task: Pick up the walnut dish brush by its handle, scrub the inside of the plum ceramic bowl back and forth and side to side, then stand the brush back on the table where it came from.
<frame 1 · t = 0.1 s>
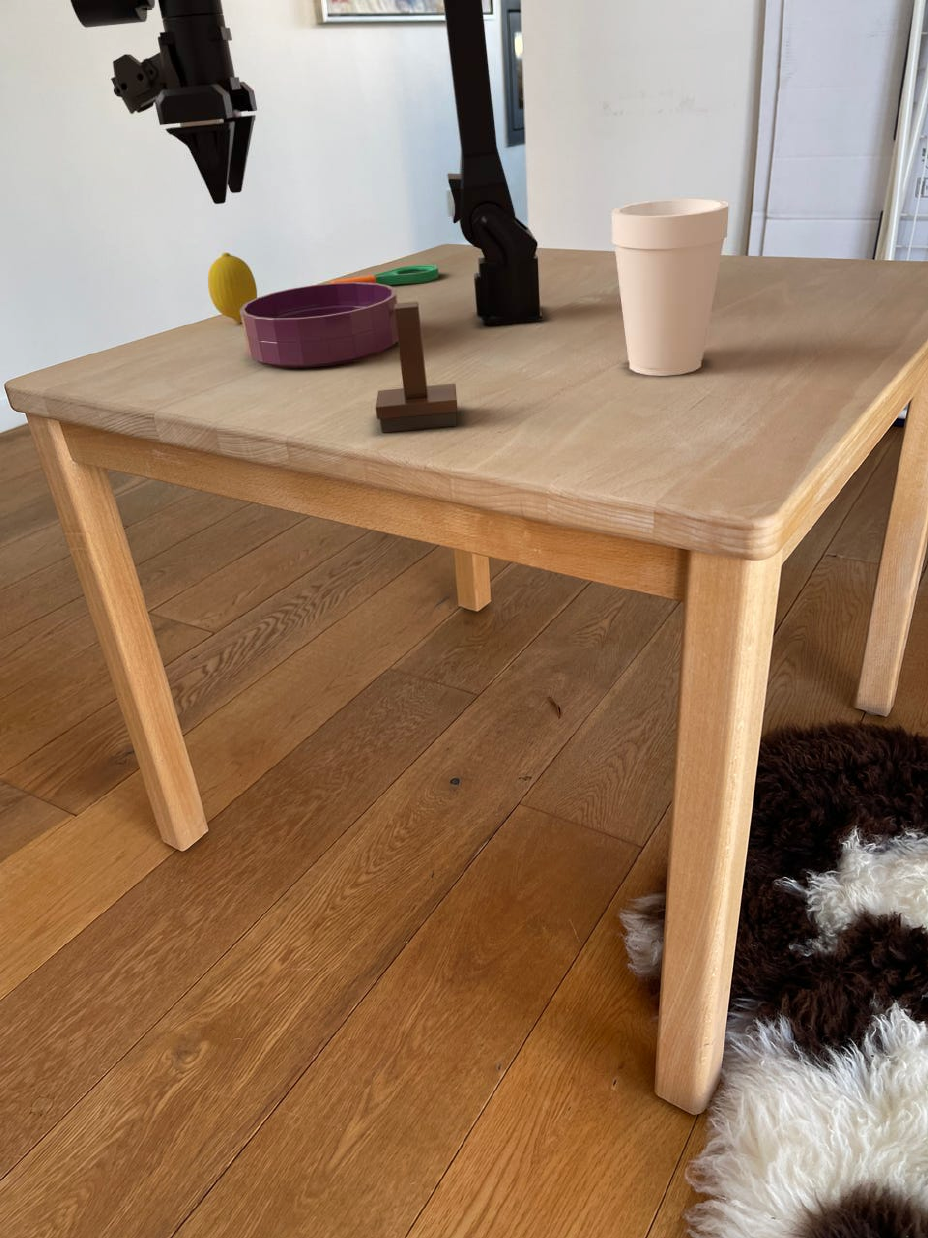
hand: (228, 197, 95), 15 cm above the table, tool pointing down, fingers open, 9 cm apart
bowl: (326, 348, 97), on the table
brush: (419, 421, 75), on the table
magnifying glass: (386, 286, 123), on the table
lemon: (240, 324, 111), on the table
foam cup: (665, 367, 83), on the table
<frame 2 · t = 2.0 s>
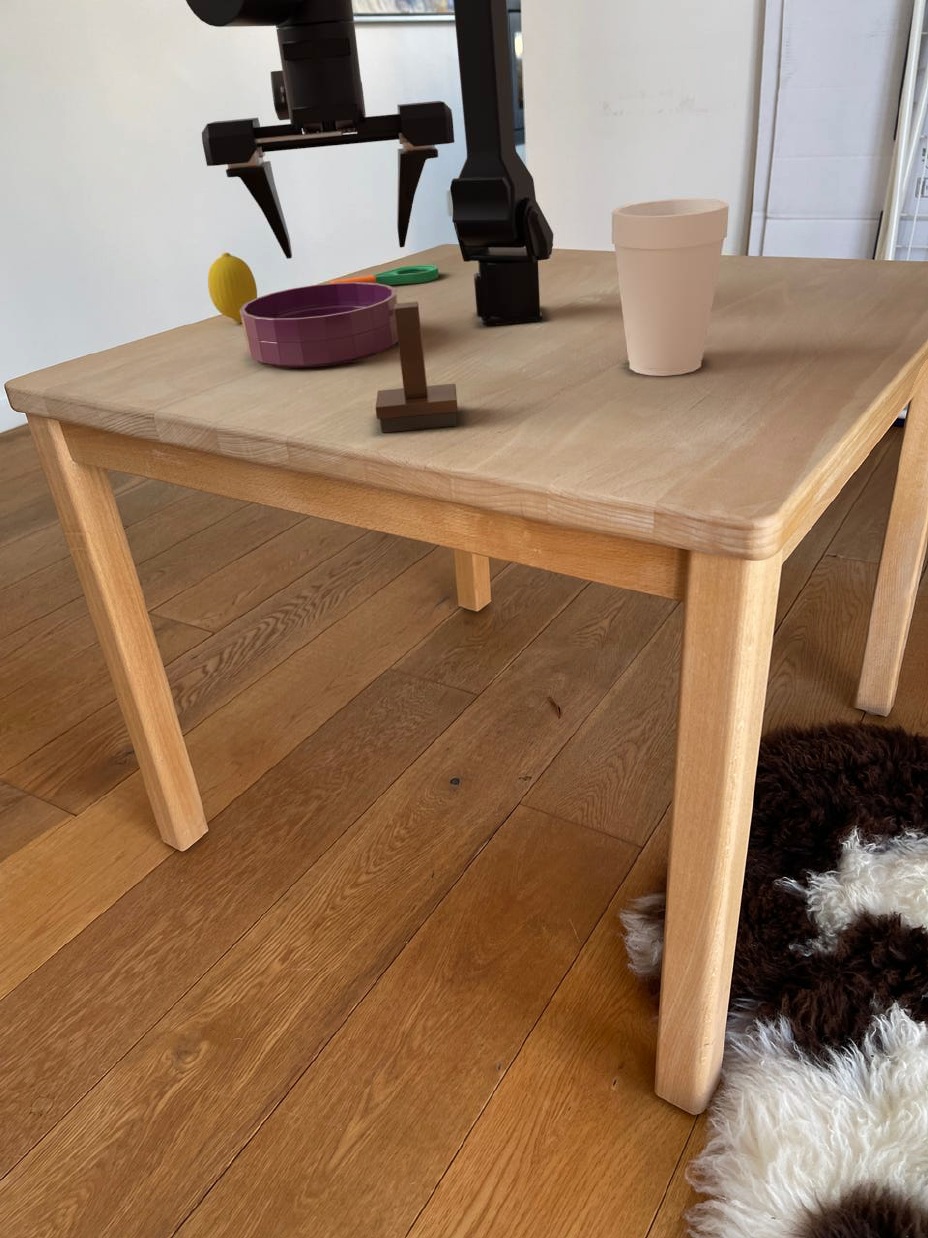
hand: (345, 252, 75), 12 cm above the table, tool pointing down, fingers open, 9 cm apart
nothing on the table moved.
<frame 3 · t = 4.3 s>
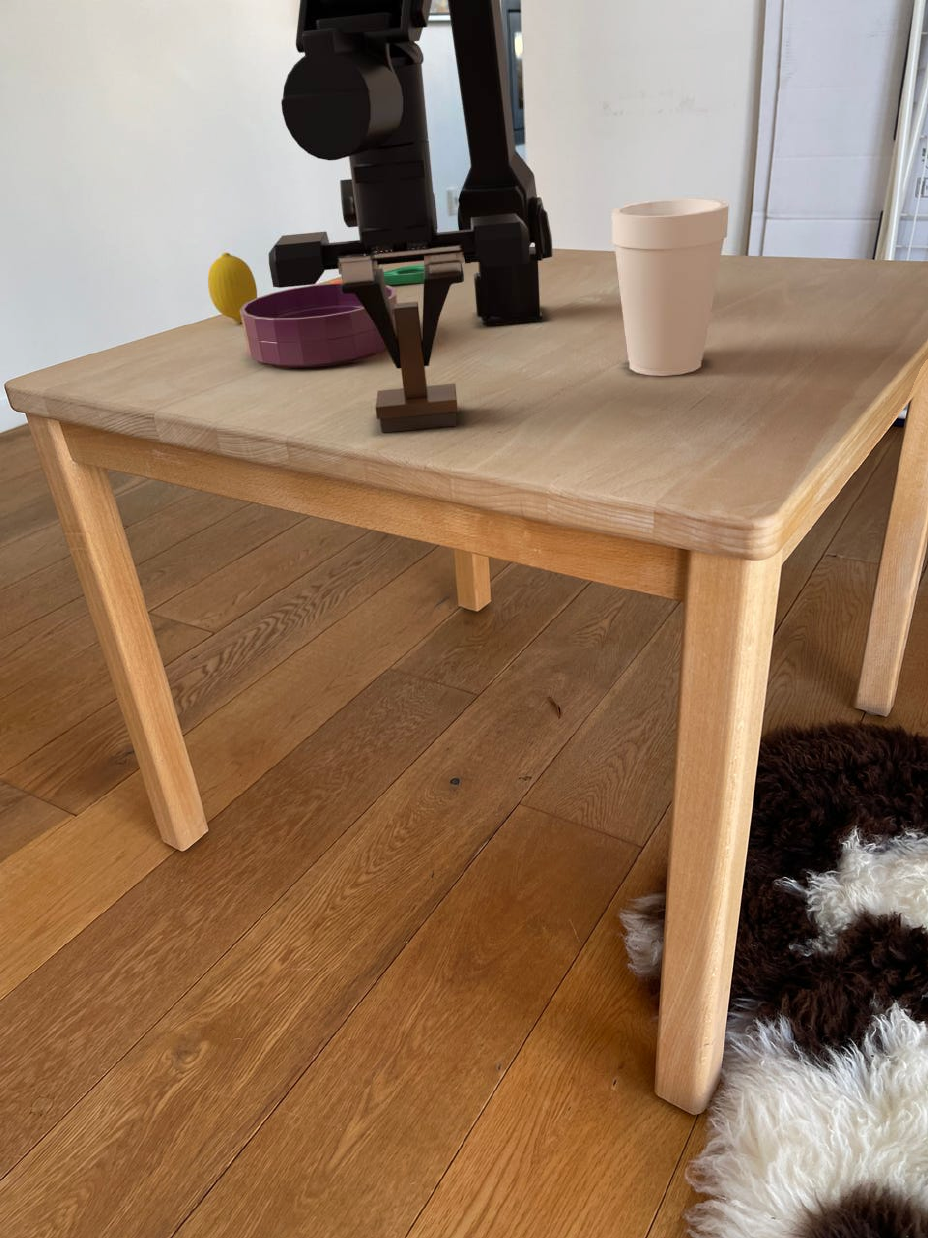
hand: (413, 365, 73), 5 cm above the table, tool pointing down, fingers closed on brush, 2 cm apart
brush: (419, 421, 75), on the table, touching gripper
everything else where it was.
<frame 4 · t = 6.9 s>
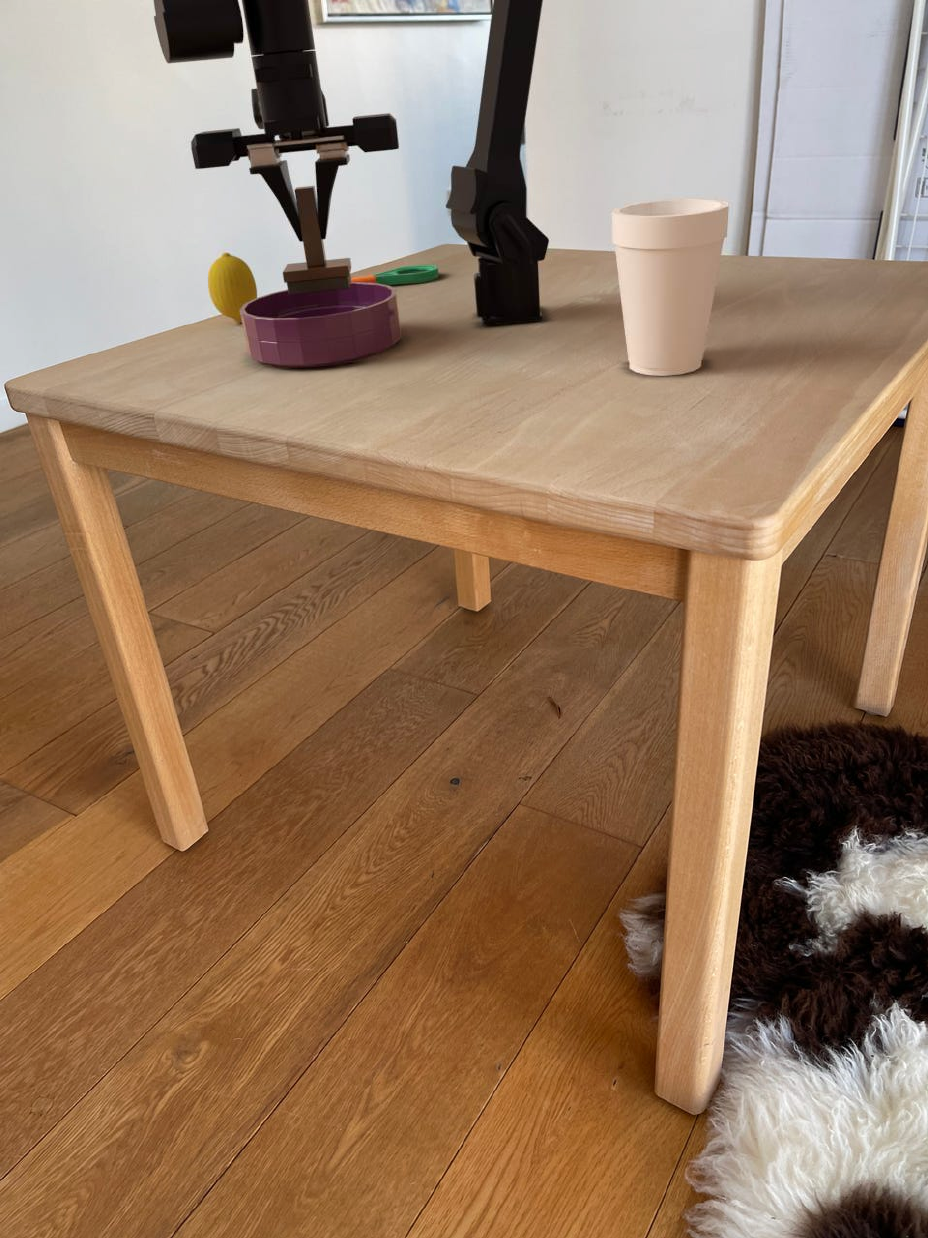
hand: (313, 239, 90), 11 cm above the table, tool pointing down, fingers closed on brush
brush: (320, 287, 93), point 6 cm above the table, touching gripper
everything else where it was.
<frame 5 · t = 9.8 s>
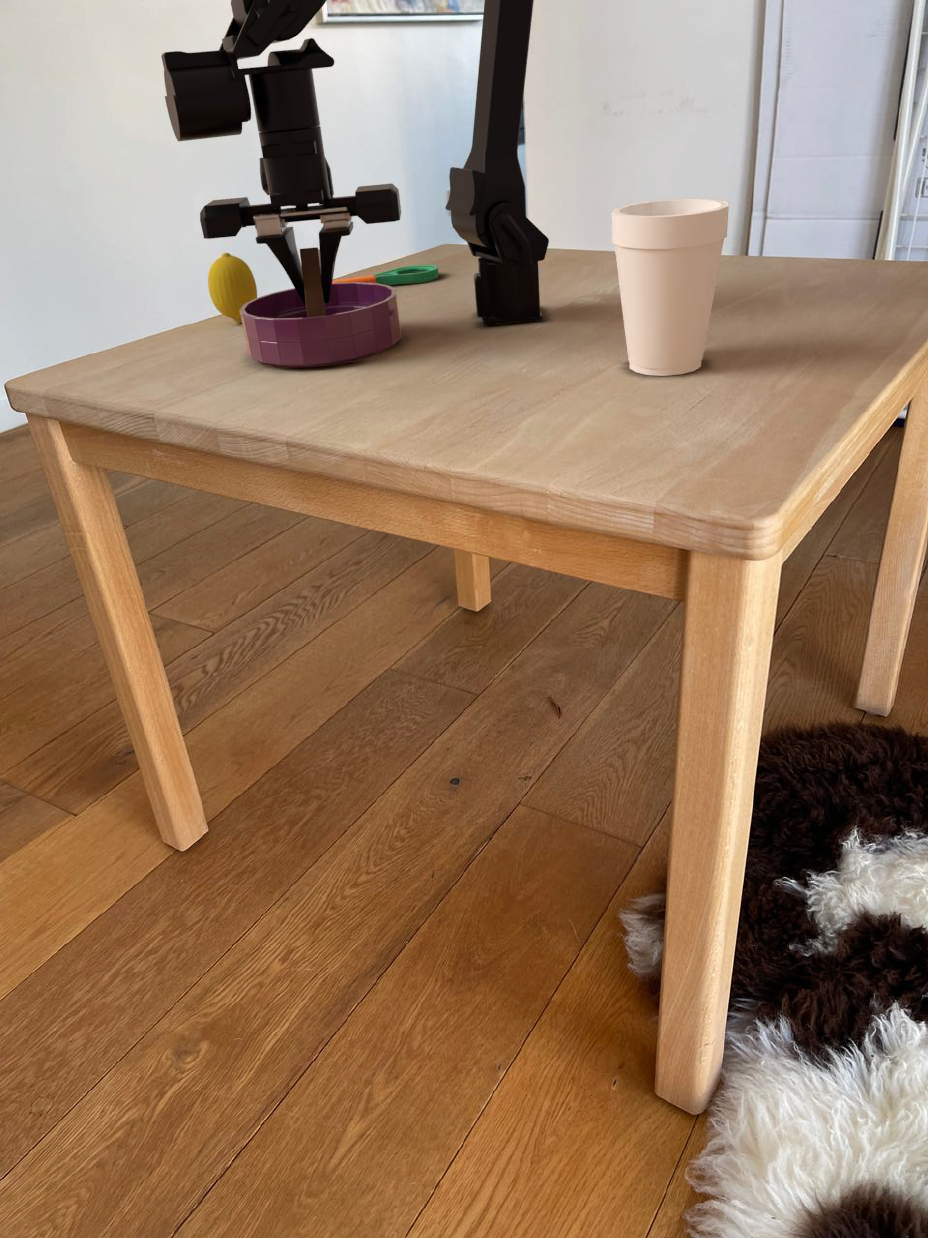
hand: (317, 303, 93), 5 cm above the table, tool pointing down, fingers closed on brush, 2 cm apart
brush: (320, 345, 93), point 1 cm above the table, tilted 19°, touching bowl, gripper
everything else where it was.
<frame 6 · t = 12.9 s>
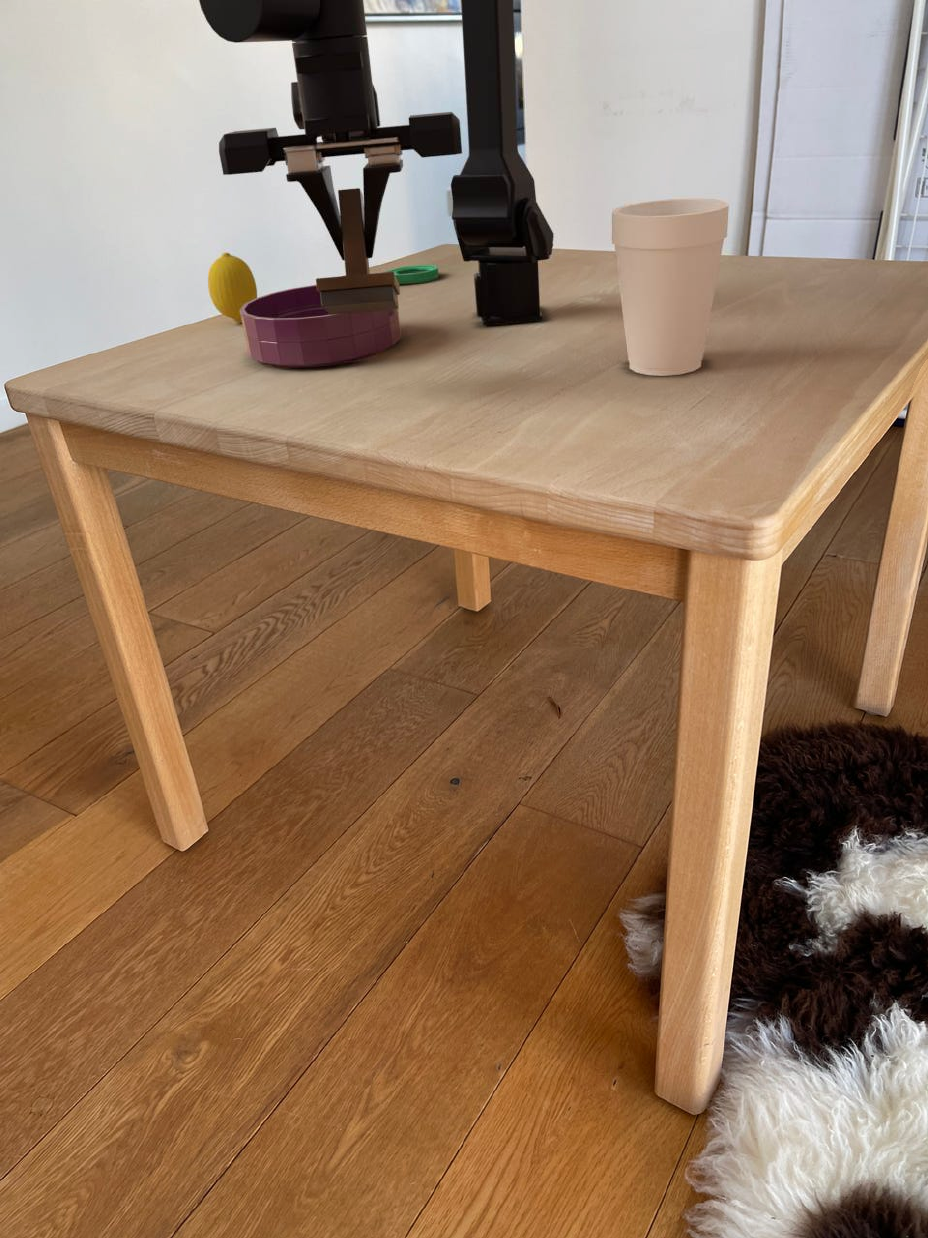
hand: (357, 258, 78), 11 cm above the table, tool pointing down, fingers closed on brush
brush: (360, 307, 77), point 8 cm above the table, tilted 23°, touching gripper
everything else where it was.
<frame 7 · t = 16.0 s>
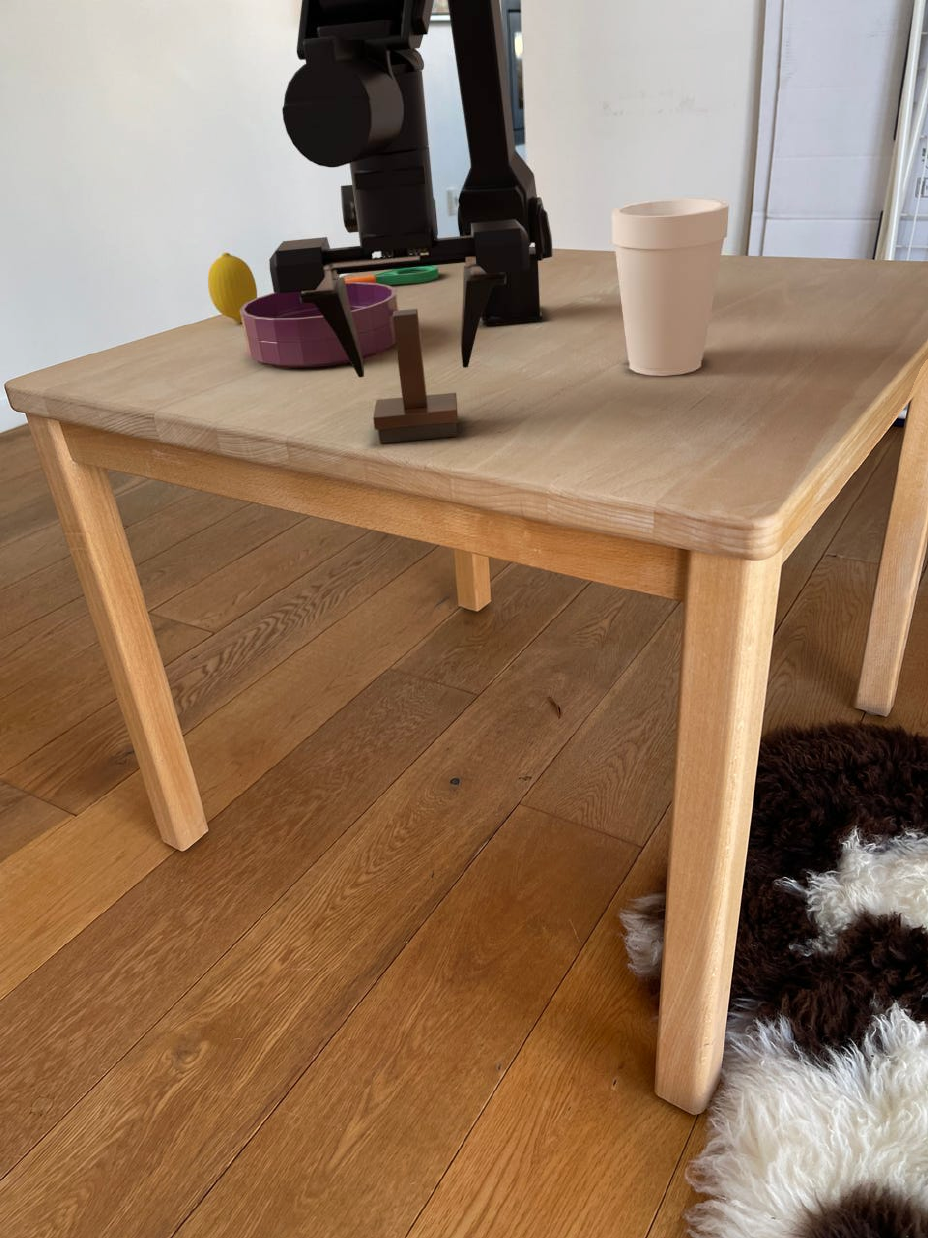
hand: (413, 370, 73), 4 cm above the table, tool pointing down, fingers open, 8 cm apart
brush: (418, 431, 73), on the table
everything else where it was.
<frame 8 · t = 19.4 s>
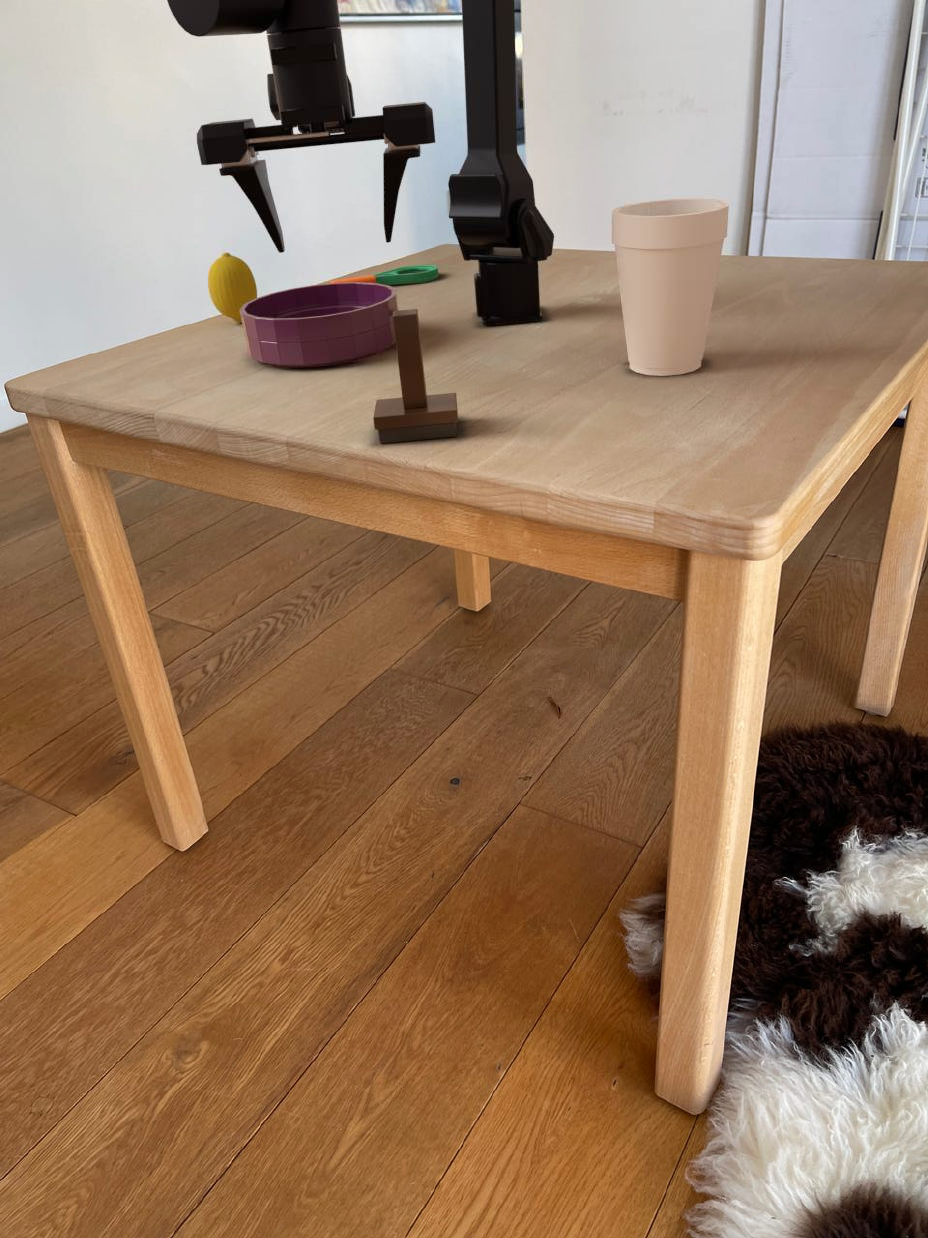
hand: (335, 246, 79), 12 cm above the table, tool pointing down, fingers open, 9 cm apart
nothing on the table moved.
at the end: brush tilted 0°; the gripper is holding nothing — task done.
